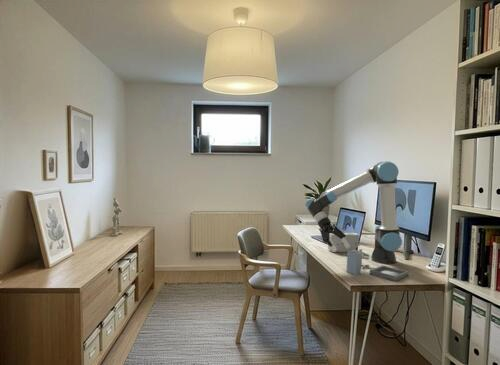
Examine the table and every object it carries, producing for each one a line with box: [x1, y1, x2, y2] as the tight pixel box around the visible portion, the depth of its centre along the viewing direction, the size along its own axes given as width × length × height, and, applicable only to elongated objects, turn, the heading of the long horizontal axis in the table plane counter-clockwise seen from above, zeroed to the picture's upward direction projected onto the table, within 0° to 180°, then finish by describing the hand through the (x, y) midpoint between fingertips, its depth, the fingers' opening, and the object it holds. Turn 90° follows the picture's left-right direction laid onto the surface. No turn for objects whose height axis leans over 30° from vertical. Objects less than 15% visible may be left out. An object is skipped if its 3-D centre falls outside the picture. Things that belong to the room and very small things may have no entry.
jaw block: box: [346, 250, 362, 276], centre depth 191 cm, size 5×6×13 cm
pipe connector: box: [358, 248, 370, 266], centre depth 207 cm, size 10×10×10 cm
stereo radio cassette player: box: [327, 225, 360, 253], centre depth 240 cm, size 21×8×20 cm, turn 94°
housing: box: [369, 265, 409, 282], centre depth 188 cm, size 15×15×2 cm
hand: (342, 249), depth 196 cm, fingers open, 13 cm apart
